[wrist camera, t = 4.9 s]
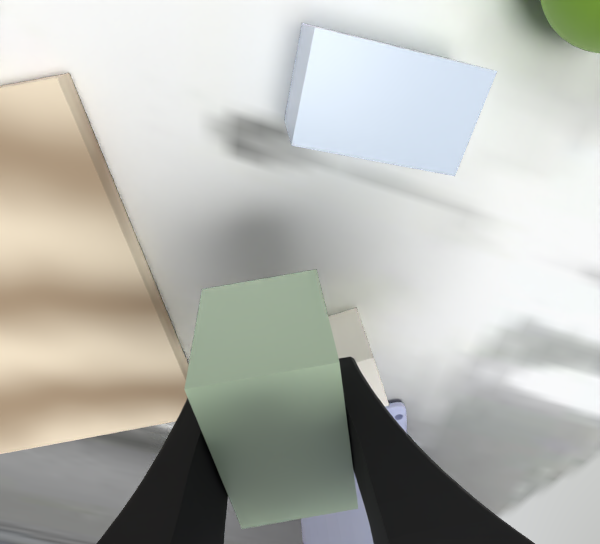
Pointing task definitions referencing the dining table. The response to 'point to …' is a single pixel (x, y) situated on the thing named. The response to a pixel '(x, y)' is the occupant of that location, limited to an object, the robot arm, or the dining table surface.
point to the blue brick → (383, 101)
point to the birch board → (73, 285)
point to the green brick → (272, 399)
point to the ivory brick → (356, 348)
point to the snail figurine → (575, 21)
